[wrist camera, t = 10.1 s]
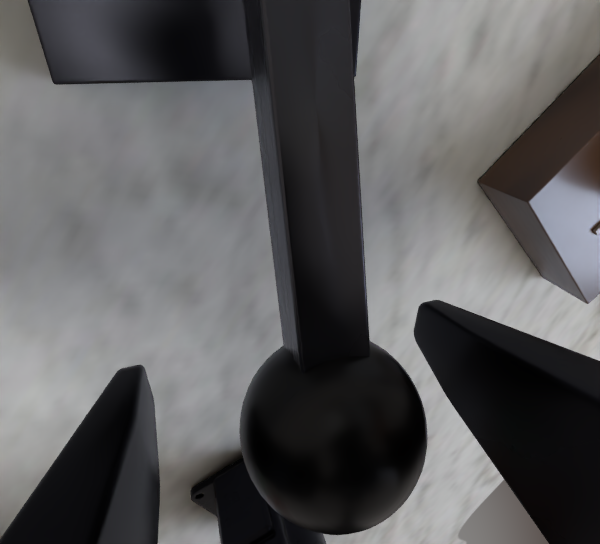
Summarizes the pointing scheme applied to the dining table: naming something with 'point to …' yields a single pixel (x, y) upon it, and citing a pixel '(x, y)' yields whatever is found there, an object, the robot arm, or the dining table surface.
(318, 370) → the black ball lever
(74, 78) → the lever bracket
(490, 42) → the dining table surface
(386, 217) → the dining table surface
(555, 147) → the dial panel
